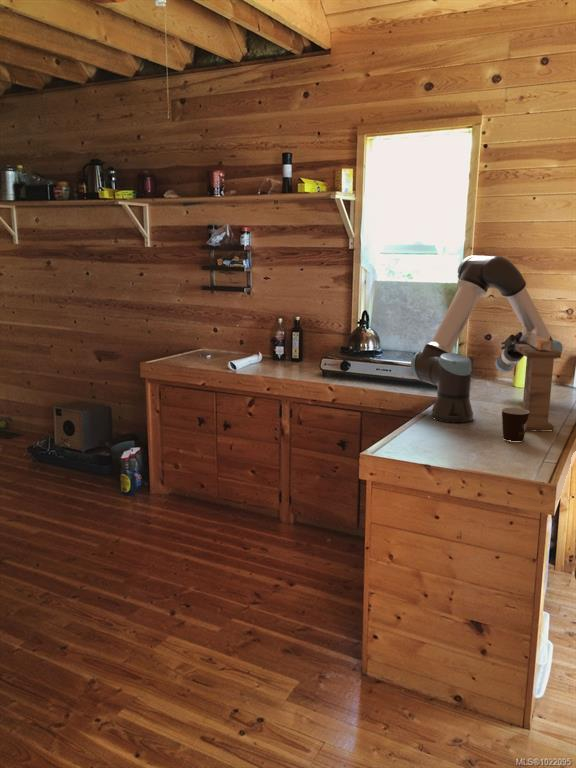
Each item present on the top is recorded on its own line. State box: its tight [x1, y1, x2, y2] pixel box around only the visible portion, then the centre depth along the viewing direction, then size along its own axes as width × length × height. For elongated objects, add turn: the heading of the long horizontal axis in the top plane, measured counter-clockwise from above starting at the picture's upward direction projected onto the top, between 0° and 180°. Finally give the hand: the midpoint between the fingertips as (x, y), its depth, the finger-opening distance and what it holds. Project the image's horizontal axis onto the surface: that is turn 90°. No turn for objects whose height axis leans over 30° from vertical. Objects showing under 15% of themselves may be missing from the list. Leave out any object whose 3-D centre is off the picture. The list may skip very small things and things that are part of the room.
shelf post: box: [515, 344, 562, 432], centre depth 233 cm, size 16×11×28 cm
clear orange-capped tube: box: [519, 330, 551, 350], centre depth 234 cm, size 26×4×3 cm, turn 176°
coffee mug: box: [501, 407, 529, 441], centre depth 218 cm, size 12×9×10 cm
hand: (531, 330), depth 237 cm, fingers closed on clear orange-capped tube, 3 cm apart
